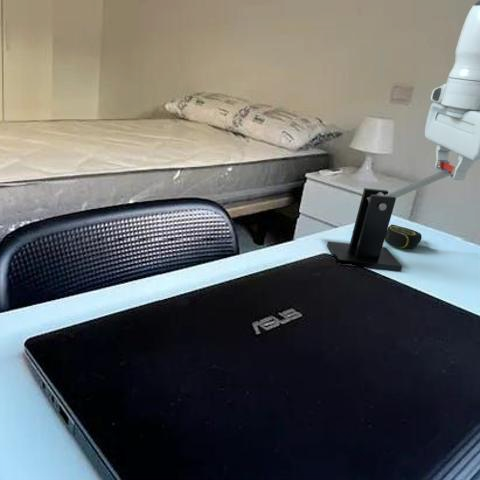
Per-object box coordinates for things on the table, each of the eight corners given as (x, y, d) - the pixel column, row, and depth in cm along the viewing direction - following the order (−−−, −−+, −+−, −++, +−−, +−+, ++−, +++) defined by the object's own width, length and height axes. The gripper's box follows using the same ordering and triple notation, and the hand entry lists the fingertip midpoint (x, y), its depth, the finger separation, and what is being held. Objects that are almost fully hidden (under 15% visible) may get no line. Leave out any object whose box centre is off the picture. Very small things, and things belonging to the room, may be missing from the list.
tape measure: (419, 246, 109) (424, 230, 107) (411, 255, 104) (416, 238, 102) (387, 237, 113) (391, 221, 111) (378, 245, 108) (382, 228, 106)
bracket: (384, 252, 104) (402, 189, 98) (400, 271, 96) (421, 203, 90) (326, 246, 104) (341, 183, 99) (337, 265, 96) (355, 197, 91)
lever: (451, 170, 94) (448, 159, 94) (464, 178, 90) (461, 166, 89) (368, 206, 98) (364, 195, 97) (376, 214, 94) (372, 203, 93)
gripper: (526, 107, 77) (496, 192, 83) (461, 92, 96) (441, 162, 101) (484, 104, 77) (458, 189, 83) (428, 89, 96) (409, 159, 102)
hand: (448, 174), depth 92 cm, fingers closed on lever, 5 cm apart
